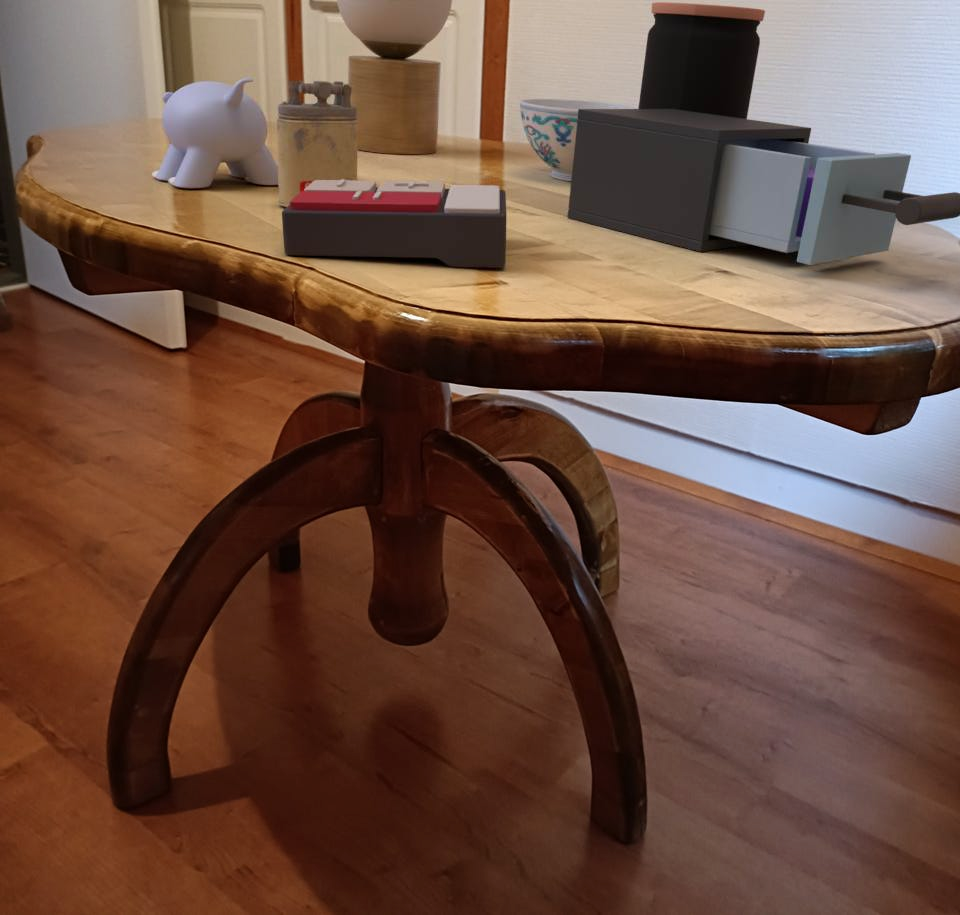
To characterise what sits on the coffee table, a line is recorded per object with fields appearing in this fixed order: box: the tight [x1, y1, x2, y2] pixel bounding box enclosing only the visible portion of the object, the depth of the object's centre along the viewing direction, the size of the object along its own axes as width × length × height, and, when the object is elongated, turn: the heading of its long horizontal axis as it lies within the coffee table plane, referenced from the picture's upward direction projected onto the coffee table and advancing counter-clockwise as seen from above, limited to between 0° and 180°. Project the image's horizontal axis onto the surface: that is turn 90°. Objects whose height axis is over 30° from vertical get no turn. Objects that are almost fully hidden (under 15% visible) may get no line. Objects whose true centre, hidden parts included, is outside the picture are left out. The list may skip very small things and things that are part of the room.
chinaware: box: [519, 98, 639, 182], centre depth 106 cm, size 15×15×8 cm
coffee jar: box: [638, 1, 766, 119], centre depth 95 cm, size 11×11×18 cm
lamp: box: [336, 0, 453, 155], centre depth 118 cm, size 15×14×25 cm
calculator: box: [281, 179, 507, 269], centre depth 69 cm, size 11×4×15 cm
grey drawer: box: [709, 139, 960, 266], centre depth 73 cm, size 19×11×7 cm, turn 41°
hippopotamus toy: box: [151, 77, 278, 189], centre depth 89 cm, size 11×15×10 cm
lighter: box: [276, 80, 358, 208], centre depth 80 cm, size 7×4×10 cm, turn 125°
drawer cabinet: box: [567, 109, 812, 253], centre depth 82 cm, size 15×13×9 cm
